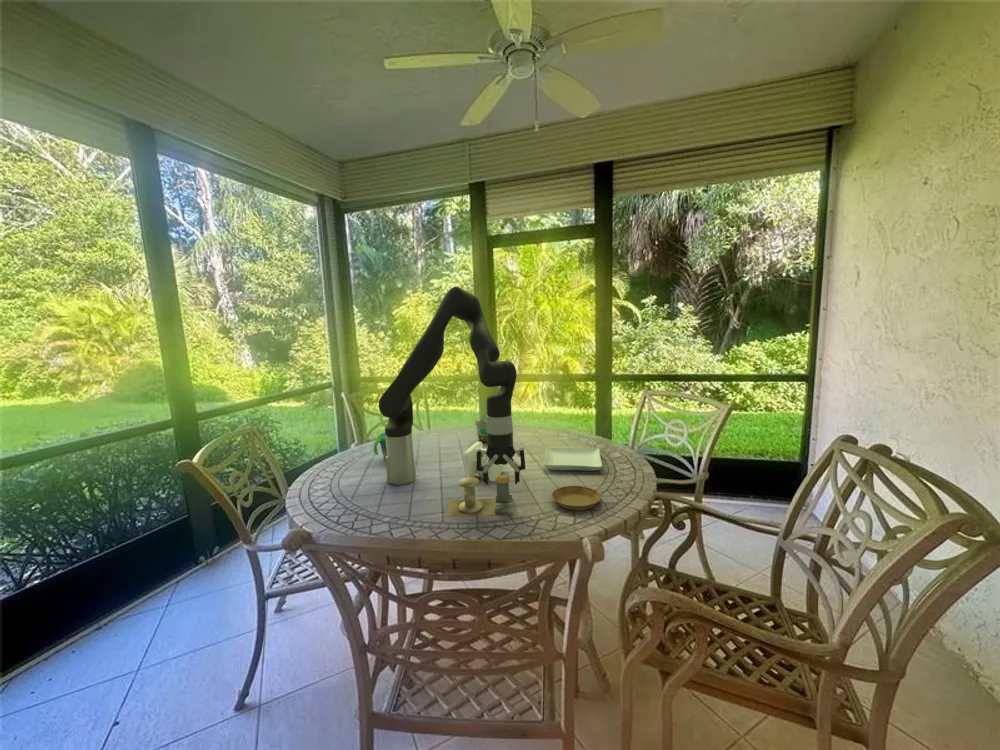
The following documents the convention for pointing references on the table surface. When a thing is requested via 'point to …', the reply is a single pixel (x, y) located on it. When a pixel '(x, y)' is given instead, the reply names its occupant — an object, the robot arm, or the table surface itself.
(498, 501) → the spice jar
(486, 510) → the winding board
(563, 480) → the table surface
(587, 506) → the plant saucer
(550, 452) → the salad plate
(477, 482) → the bobbin
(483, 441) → the food container
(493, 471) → the cable organizer
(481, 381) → the robot arm
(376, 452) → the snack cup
